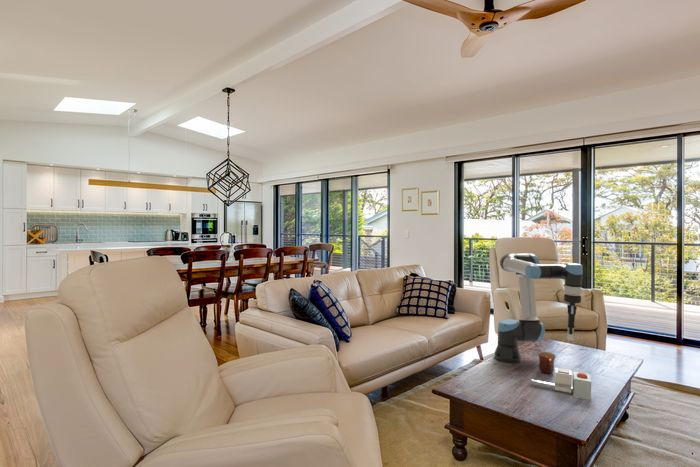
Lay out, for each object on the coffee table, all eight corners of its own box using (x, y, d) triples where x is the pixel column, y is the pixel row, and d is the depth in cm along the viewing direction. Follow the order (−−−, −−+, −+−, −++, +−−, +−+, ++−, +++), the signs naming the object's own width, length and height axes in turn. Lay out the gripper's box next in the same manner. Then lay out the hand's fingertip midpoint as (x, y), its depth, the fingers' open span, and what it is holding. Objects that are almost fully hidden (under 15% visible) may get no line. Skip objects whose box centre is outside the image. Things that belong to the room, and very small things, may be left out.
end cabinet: (572, 396, 186) (573, 378, 186) (572, 388, 195) (572, 371, 195) (590, 400, 183) (591, 381, 182) (589, 392, 192) (589, 374, 191)
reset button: (577, 380, 188) (578, 374, 188) (577, 378, 191) (577, 372, 191) (586, 382, 186) (586, 376, 186) (586, 379, 189) (586, 373, 189)
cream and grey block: (554, 389, 191) (555, 371, 191) (554, 384, 197) (555, 366, 197) (571, 392, 188) (571, 374, 187) (570, 387, 194) (571, 369, 194)
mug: (535, 369, 221) (536, 351, 220) (552, 370, 219) (552, 352, 218) (541, 377, 209) (542, 358, 208) (559, 379, 207) (559, 360, 207)
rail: (530, 385, 198) (530, 380, 198) (531, 383, 201) (531, 379, 200) (575, 394, 189) (575, 389, 189) (575, 392, 191) (575, 387, 191)
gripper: (582, 297, 187) (579, 345, 189) (580, 292, 199) (578, 337, 200) (564, 295, 191) (561, 342, 193) (564, 290, 202) (561, 334, 204)
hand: (570, 339), depth 196 cm, fingers closed
